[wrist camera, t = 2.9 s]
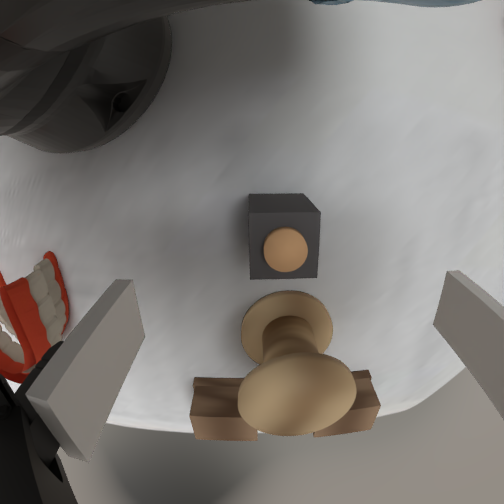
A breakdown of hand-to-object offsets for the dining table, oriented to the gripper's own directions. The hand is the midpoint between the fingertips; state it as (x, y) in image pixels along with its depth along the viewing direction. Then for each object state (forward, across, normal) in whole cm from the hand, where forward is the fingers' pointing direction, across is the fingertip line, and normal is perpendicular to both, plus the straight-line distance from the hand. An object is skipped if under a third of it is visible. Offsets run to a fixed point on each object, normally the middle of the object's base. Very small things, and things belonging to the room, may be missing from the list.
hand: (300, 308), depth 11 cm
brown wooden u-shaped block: (+12, +1, -18) cm, 22 cm away
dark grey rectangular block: (+12, 0, 0) cm, 12 cm away
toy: (+12, -25, -8) cm, 29 cm away
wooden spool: (+12, +1, -10) cm, 16 cm away
